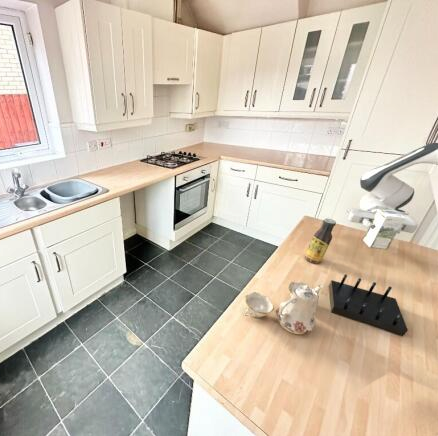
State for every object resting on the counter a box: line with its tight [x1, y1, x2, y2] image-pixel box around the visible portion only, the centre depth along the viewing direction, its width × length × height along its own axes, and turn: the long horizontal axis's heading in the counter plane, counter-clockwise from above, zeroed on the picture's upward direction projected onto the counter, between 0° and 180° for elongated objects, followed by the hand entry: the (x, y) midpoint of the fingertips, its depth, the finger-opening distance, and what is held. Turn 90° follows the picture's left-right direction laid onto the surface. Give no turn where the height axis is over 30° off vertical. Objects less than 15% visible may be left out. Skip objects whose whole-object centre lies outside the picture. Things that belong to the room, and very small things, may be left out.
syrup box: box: [362, 209, 405, 251], centre depth 92 cm, size 6×6×14 cm
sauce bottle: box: [304, 218, 337, 264], centre depth 100 cm, size 7×6×20 cm
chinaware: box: [243, 281, 323, 336], centre depth 77 cm, size 28×17×17 cm, turn 111°
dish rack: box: [328, 274, 409, 337], centre depth 80 cm, size 18×14×8 cm
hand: (384, 229), depth 91 cm, fingers closed on syrup box, 6 cm apart
